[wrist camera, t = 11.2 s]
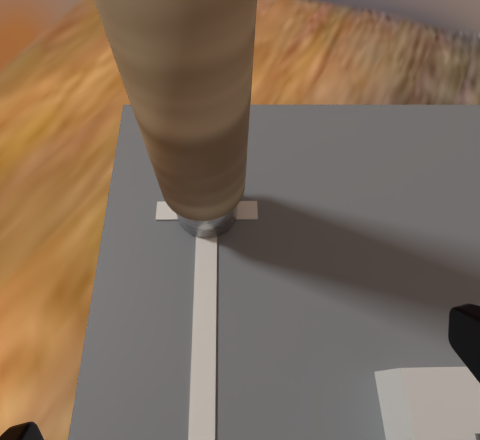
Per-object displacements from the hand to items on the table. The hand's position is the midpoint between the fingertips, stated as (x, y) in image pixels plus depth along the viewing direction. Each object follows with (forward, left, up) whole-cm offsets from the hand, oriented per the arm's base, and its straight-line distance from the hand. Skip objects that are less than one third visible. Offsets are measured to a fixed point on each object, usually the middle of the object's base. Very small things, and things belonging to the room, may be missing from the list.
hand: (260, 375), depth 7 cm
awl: (+8, +2, -7) cm, 11 cm away
